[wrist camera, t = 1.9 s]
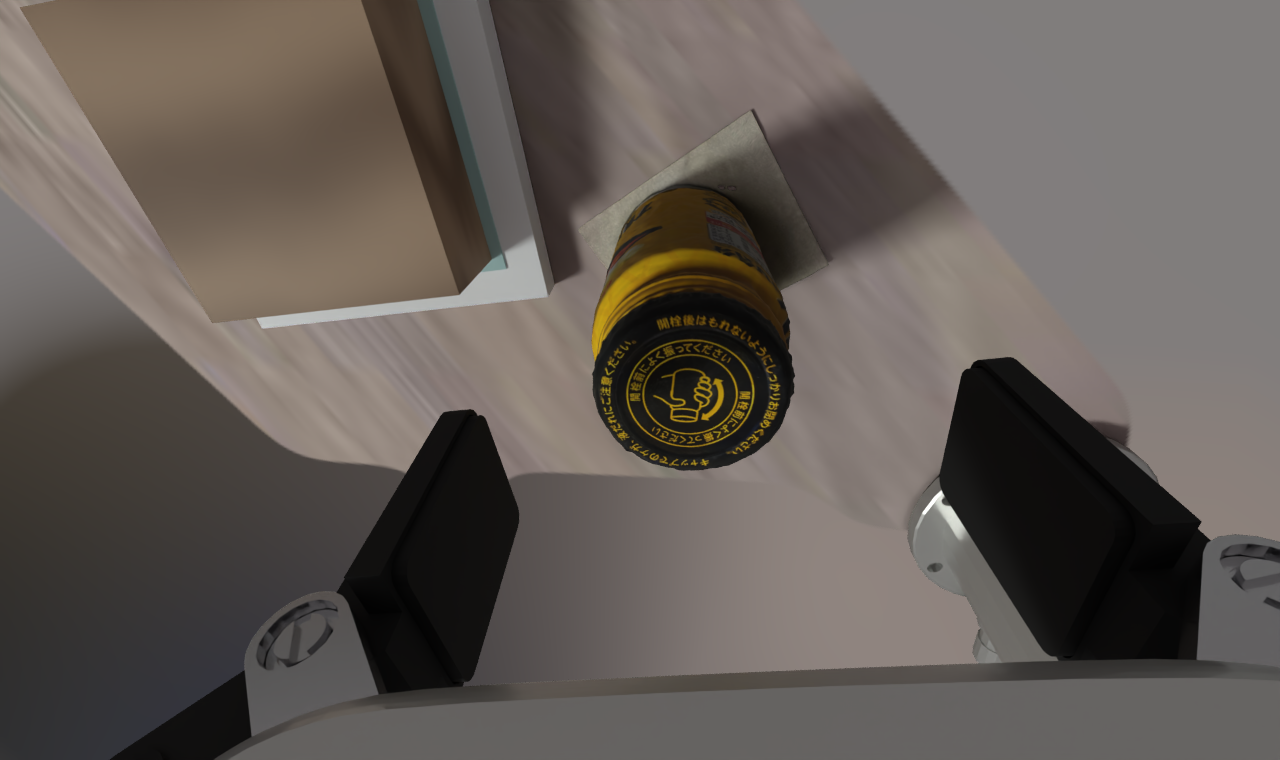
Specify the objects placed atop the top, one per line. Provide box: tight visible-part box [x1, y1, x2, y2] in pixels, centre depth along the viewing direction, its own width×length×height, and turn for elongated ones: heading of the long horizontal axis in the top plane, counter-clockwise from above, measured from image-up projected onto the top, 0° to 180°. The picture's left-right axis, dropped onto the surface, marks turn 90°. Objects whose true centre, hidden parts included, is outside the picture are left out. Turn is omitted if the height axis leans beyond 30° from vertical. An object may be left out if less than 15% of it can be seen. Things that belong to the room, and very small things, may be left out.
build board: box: [257, 0, 555, 329], centre depth 21 cm, size 14×14×2 cm
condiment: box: [578, 110, 828, 471], centre depth 18 cm, size 7×8×12 cm
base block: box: [20, 0, 492, 323], centre depth 19 cm, size 10×10×4 cm
